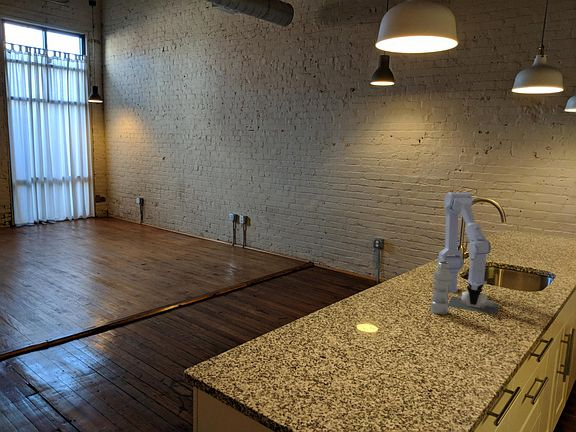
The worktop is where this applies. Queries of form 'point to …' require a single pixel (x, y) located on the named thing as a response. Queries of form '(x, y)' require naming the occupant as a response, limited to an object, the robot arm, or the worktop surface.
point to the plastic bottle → (441, 289)
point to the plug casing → (480, 303)
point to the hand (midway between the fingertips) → (473, 302)
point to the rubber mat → (489, 308)
